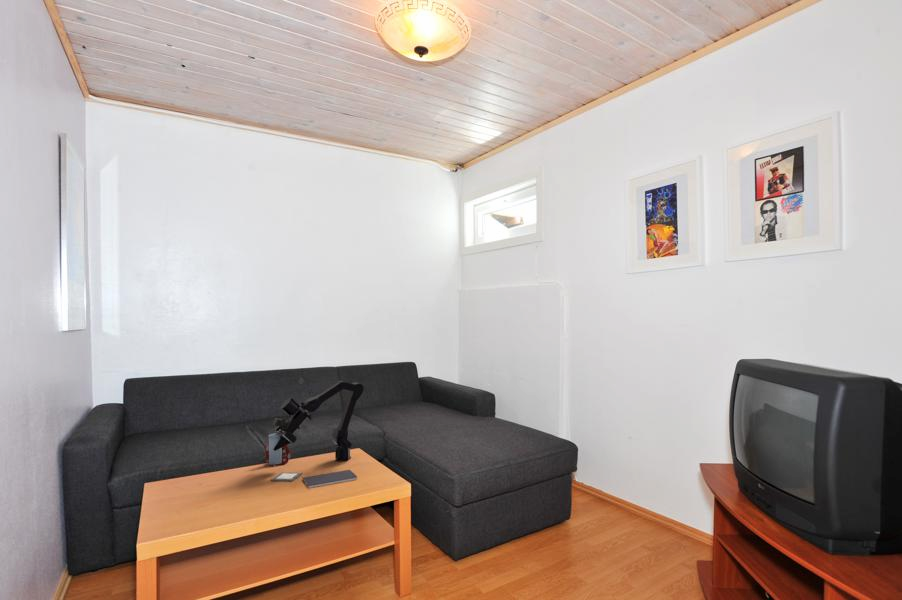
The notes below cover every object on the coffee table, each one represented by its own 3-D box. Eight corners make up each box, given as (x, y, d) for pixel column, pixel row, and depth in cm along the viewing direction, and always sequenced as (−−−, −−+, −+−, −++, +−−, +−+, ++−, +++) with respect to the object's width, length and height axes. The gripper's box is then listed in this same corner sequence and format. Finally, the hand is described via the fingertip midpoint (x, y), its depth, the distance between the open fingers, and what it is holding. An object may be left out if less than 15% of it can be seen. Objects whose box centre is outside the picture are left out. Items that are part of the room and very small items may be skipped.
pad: (302, 474, 213) (302, 472, 213) (292, 481, 203) (292, 479, 203) (281, 473, 214) (281, 472, 214) (270, 481, 204) (270, 479, 204)
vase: (284, 460, 219) (284, 433, 220) (278, 464, 213) (278, 436, 214) (272, 460, 220) (272, 433, 221) (266, 464, 214) (266, 436, 215)
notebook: (349, 472, 215) (302, 480, 205) (349, 469, 215) (302, 477, 205) (358, 480, 204) (308, 489, 194) (357, 476, 204) (308, 485, 194)
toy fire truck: (292, 462, 231) (292, 441, 232) (266, 467, 224) (266, 445, 225) (288, 459, 237) (288, 439, 238) (263, 464, 230) (263, 443, 231)
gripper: (278, 408, 228) (255, 434, 221) (289, 414, 212) (264, 442, 205) (295, 422, 232) (272, 448, 225) (306, 428, 216) (282, 457, 210)
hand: (272, 448), depth 216 cm, fingers closed on vase, 6 cm apart
